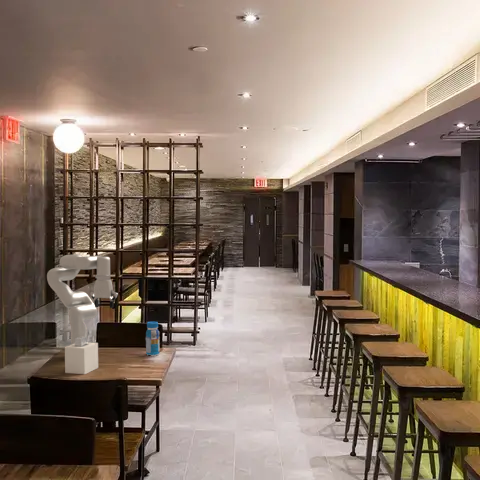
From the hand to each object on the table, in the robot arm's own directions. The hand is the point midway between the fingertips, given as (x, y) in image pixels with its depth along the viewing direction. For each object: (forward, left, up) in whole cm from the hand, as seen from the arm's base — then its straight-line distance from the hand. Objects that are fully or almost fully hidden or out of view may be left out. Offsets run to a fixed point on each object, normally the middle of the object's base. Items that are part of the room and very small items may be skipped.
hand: (104, 307), depth 338 cm
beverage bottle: (+18, +26, -32) cm, 45 cm away
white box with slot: (-4, -18, -32) cm, 37 cm away
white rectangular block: (-4, -18, -24) cm, 31 cm away
